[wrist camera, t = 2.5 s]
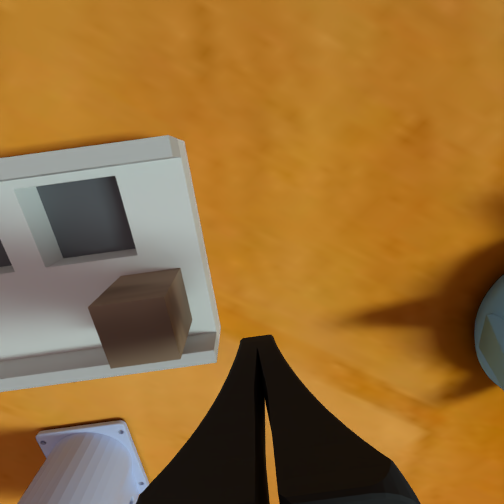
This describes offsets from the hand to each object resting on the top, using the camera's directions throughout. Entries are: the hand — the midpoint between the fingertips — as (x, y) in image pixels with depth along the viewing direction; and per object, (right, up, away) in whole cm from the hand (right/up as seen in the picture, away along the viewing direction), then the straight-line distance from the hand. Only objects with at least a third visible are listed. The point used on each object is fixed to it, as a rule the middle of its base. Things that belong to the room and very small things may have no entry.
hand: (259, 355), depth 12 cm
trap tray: (-15, +3, +8) cm, 17 cm away
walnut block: (-7, +1, +7) cm, 10 cm away
